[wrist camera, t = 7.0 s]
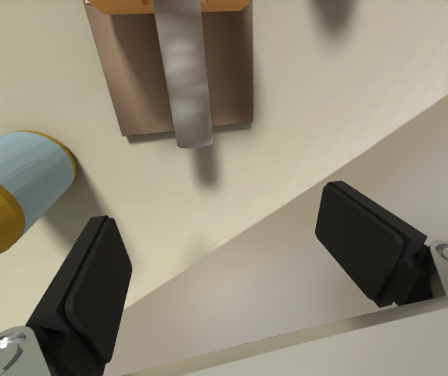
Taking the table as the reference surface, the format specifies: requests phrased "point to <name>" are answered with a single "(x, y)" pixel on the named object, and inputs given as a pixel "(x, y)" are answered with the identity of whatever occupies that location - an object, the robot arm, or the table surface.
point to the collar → (142, 4)
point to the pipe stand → (177, 68)
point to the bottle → (30, 180)
